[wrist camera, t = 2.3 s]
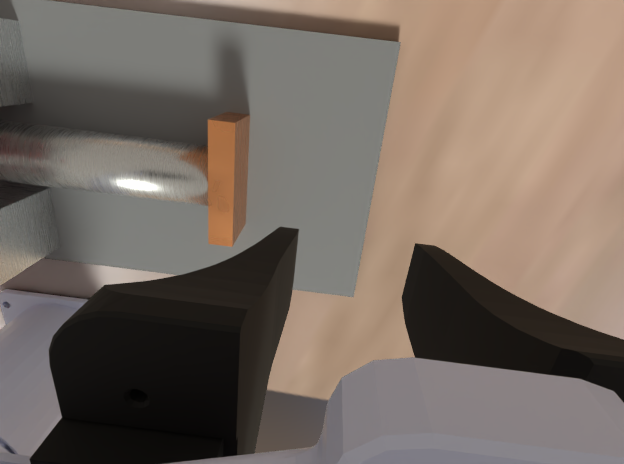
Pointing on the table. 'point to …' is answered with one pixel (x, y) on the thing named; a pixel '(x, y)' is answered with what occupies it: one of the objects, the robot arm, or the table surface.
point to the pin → (139, 167)
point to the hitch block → (17, 197)
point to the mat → (194, 129)
